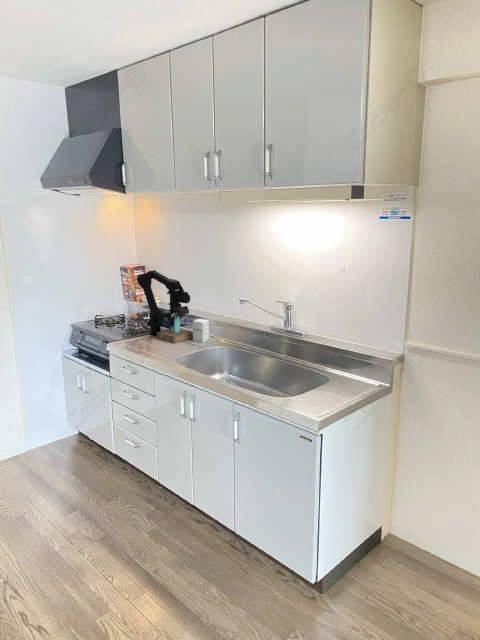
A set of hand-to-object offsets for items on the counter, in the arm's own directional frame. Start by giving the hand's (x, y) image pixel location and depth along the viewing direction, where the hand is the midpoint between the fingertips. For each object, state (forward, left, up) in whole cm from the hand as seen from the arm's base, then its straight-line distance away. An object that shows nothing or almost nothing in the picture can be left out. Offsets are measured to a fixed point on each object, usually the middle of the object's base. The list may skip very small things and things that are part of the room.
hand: (175, 326), depth 294 cm
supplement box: (+15, +7, -8) cm, 18 cm away
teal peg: (0, 0, -4) cm, 4 cm away
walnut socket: (0, 0, -8) cm, 8 cm away
